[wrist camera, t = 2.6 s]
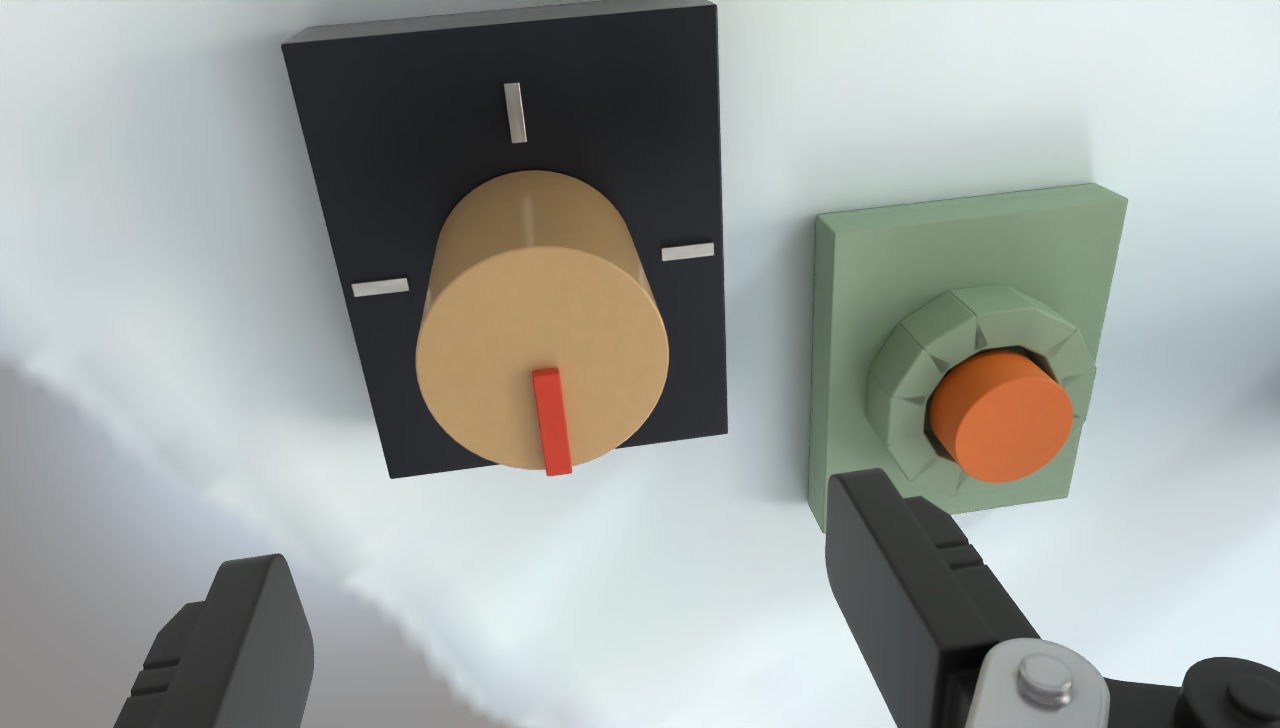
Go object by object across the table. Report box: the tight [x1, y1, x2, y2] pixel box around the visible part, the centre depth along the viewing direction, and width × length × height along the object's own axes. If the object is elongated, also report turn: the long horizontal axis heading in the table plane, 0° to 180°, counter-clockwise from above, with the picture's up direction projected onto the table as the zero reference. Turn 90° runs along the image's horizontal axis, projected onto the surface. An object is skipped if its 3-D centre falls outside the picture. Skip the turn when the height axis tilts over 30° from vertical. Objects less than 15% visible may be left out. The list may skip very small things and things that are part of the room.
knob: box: [416, 170, 669, 476], centre depth 20 cm, size 5×5×6 cm
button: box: [929, 350, 1073, 483], centre depth 26 cm, size 4×4×2 cm
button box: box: [808, 183, 1128, 533], centre depth 28 cm, size 11×9×4 cm
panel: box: [281, 0, 728, 479], centre depth 24 cm, size 12×10×3 cm
